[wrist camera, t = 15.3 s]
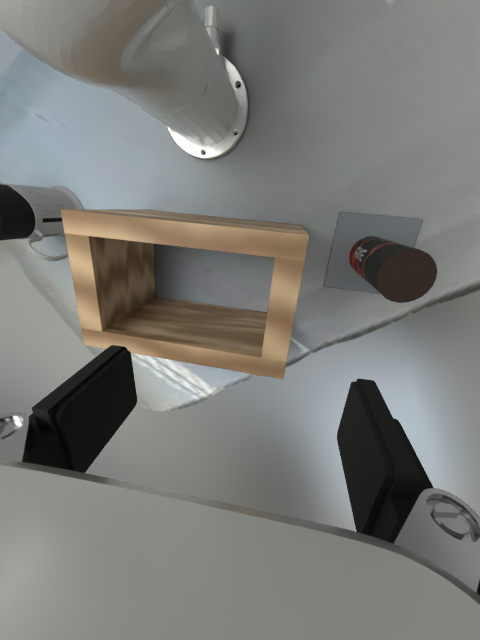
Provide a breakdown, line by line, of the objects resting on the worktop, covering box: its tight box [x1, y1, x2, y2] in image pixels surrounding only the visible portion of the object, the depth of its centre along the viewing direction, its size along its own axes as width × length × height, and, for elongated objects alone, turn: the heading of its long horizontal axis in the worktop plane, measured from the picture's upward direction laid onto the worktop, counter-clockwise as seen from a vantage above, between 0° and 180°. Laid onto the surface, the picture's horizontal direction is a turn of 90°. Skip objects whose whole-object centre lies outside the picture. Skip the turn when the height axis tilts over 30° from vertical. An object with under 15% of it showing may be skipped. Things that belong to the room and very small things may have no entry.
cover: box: [60, 209, 309, 379], centre depth 39 cm, size 17×27×19 cm, turn 85°
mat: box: [324, 212, 423, 293], centre depth 42 cm, size 12×12×1 cm
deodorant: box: [349, 236, 437, 303], centre depth 35 cm, size 6×6×15 cm
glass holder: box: [0, 183, 83, 261], centre depth 42 cm, size 9×14×15 cm, turn 48°
